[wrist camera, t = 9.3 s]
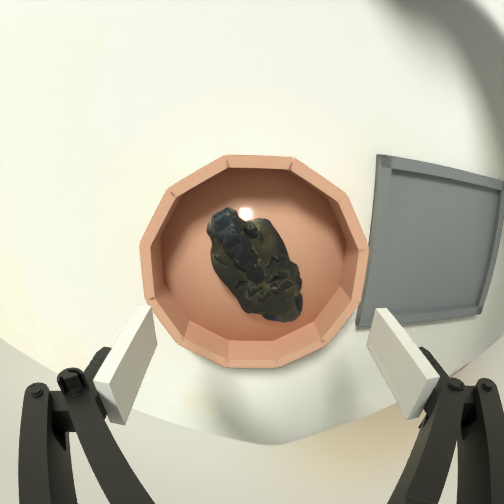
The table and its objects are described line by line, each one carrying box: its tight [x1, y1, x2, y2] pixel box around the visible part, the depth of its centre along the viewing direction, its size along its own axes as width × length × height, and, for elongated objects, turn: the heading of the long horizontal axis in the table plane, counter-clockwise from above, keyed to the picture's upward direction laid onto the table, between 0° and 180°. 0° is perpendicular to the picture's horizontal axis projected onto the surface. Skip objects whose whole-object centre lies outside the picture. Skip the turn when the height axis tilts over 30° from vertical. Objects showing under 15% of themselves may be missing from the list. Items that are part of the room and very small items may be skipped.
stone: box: [206, 207, 303, 323], centre depth 26 cm, size 7×13×5 cm, turn 32°
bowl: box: [139, 155, 369, 368], centre depth 27 cm, size 20×20×4 cm
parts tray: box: [355, 155, 504, 327], centre depth 29 cm, size 18×20×1 cm
